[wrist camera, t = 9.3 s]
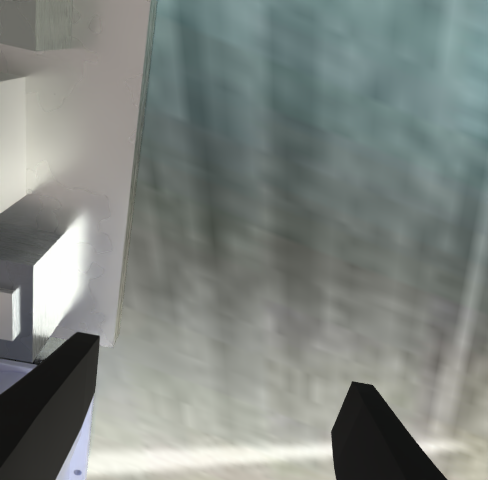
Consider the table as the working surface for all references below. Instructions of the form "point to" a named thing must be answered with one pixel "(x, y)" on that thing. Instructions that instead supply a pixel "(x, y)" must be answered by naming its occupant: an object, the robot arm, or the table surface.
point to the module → (12, 140)
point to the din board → (72, 166)
